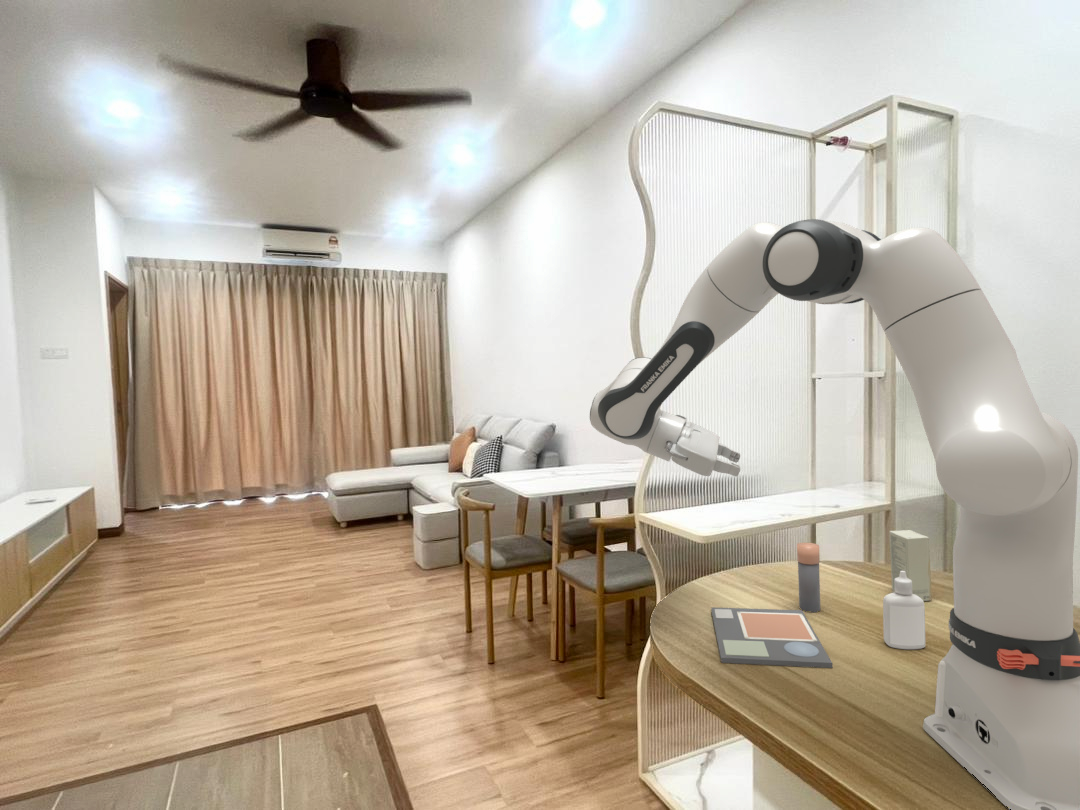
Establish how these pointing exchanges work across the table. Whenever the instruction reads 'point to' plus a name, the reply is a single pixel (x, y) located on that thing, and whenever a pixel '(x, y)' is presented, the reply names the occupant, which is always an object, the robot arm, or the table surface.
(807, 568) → the terracotta marker
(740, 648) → the picture board
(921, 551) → the skincare box
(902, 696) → the table surface
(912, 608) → the eye dropper bottle
